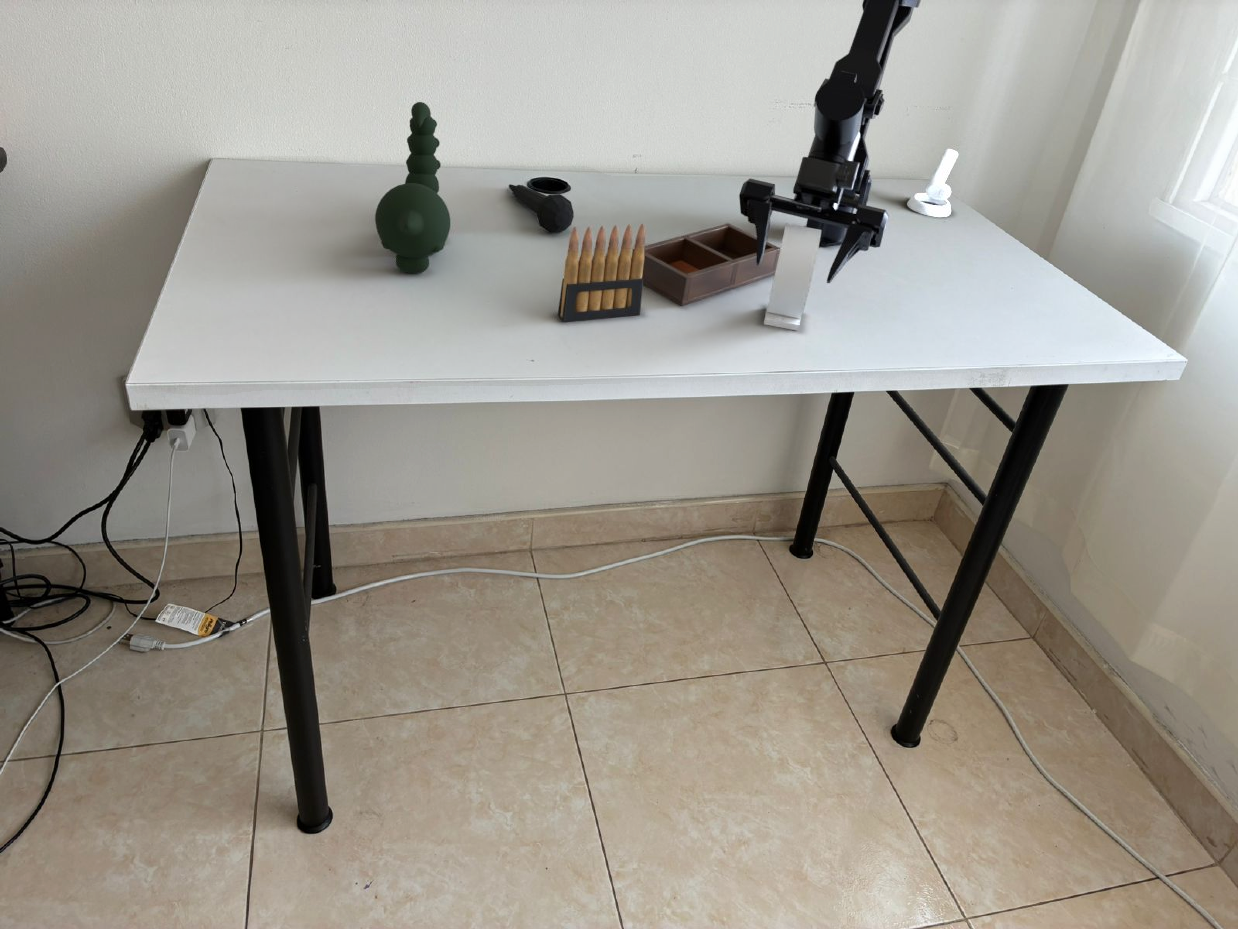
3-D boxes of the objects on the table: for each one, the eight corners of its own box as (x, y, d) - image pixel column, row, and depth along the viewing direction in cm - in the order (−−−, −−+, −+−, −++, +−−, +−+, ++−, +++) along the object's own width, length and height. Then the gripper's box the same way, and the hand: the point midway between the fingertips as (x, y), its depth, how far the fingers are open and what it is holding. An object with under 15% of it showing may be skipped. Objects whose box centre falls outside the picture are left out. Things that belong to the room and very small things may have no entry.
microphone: (500, 209, 153) (552, 244, 138) (489, 175, 149) (541, 207, 134) (530, 196, 154) (584, 229, 139) (520, 162, 151) (574, 192, 136)
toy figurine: (391, 227, 139) (369, 288, 118) (388, 91, 129) (364, 131, 108) (456, 232, 140) (446, 293, 119) (458, 97, 130) (447, 138, 109)
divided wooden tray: (723, 248, 142) (728, 222, 140) (775, 274, 137) (781, 248, 134) (628, 276, 131) (632, 248, 128) (681, 306, 125) (686, 278, 123)
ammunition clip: (562, 322, 118) (570, 231, 111) (557, 315, 119) (565, 224, 112) (640, 314, 122) (652, 226, 115) (634, 308, 123) (646, 220, 116)
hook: (965, 171, 170) (978, 160, 163) (937, 232, 171) (949, 223, 164) (927, 154, 171) (939, 142, 164) (899, 215, 171) (909, 206, 164)
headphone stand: (800, 314, 127) (821, 229, 120) (797, 334, 122) (819, 247, 115) (766, 307, 128) (786, 223, 121) (762, 327, 123) (782, 240, 116)
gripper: (757, 113, 116) (718, 227, 114) (908, 146, 112) (871, 264, 110) (759, 160, 127) (723, 264, 125) (897, 191, 123) (863, 300, 121)
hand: (792, 272), depth 120 cm, fingers open, 9 cm apart
